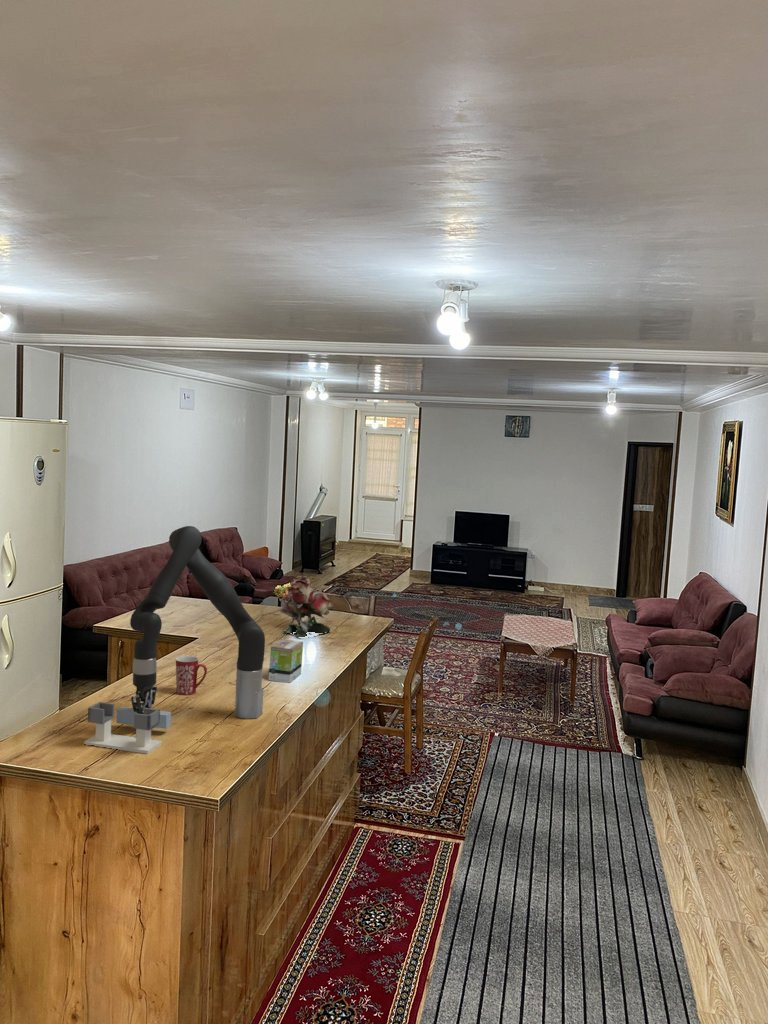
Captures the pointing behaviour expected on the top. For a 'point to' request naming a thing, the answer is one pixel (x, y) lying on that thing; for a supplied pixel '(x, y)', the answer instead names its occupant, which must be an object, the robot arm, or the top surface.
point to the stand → (104, 738)
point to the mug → (188, 674)
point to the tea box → (285, 660)
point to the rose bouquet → (305, 607)
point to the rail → (127, 714)
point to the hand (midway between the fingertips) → (143, 720)
